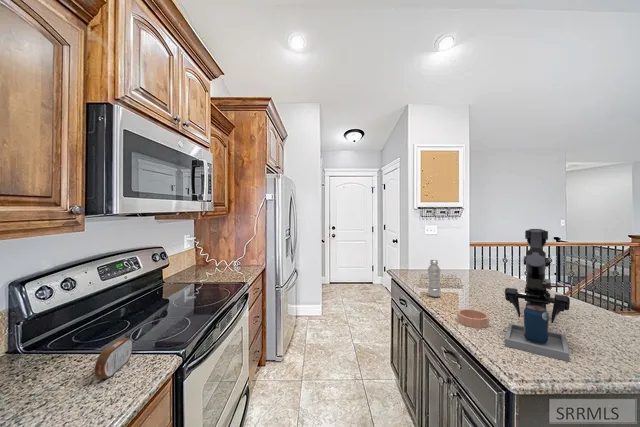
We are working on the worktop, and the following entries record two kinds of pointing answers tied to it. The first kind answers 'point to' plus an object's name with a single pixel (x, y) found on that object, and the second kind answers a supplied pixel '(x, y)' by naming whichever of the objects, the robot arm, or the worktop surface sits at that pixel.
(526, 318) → the soda can
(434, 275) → the plastic bottle
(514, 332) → the tray
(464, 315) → the ring holder
